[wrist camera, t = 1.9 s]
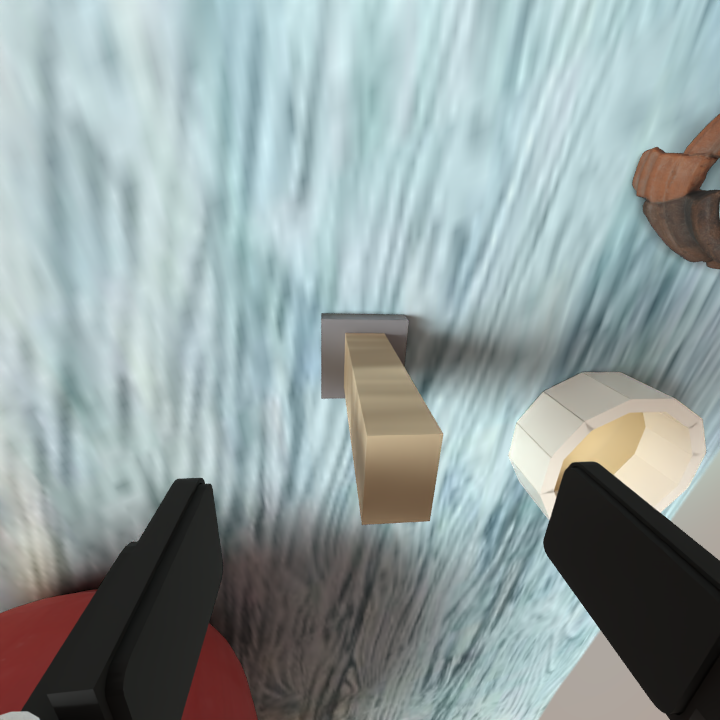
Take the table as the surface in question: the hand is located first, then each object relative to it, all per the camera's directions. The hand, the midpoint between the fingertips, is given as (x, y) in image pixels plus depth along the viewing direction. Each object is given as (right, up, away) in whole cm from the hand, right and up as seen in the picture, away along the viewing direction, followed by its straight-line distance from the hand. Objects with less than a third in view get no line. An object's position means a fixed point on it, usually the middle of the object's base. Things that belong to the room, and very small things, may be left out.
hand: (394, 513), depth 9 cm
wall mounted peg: (-1, +4, +10) cm, 11 cm away
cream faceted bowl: (+14, -1, +14) cm, 19 cm away
